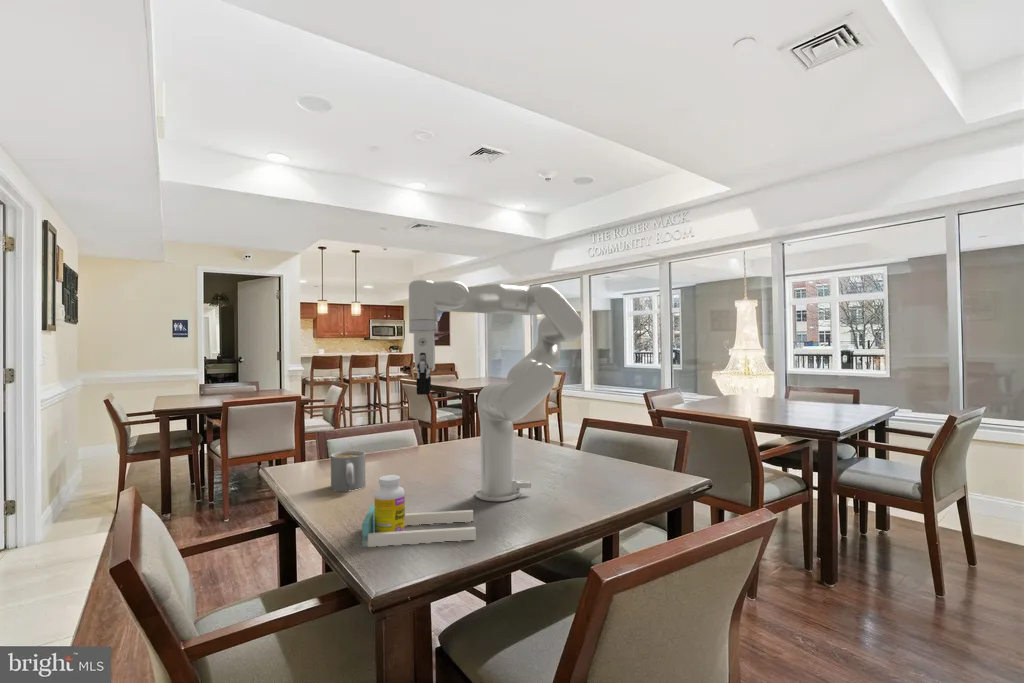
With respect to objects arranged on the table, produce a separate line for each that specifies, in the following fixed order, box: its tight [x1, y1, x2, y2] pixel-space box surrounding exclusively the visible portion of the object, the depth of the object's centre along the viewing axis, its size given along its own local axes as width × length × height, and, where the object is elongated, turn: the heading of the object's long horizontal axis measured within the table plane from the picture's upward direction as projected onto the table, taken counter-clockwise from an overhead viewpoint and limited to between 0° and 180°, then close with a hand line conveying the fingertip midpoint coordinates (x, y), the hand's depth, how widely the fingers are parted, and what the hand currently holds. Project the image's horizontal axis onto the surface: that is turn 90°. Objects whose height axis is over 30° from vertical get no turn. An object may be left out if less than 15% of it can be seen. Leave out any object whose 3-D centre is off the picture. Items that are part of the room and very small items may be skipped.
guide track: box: [361, 504, 477, 548], centre depth 110 cm, size 24×12×5 cm, turn 98°
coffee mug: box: [330, 450, 366, 492], centre depth 145 cm, size 13×10×10 cm
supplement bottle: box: [373, 474, 406, 533], centre depth 109 cm, size 7×7×13 cm
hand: (424, 392), depth 127 cm, fingers open, 9 cm apart
